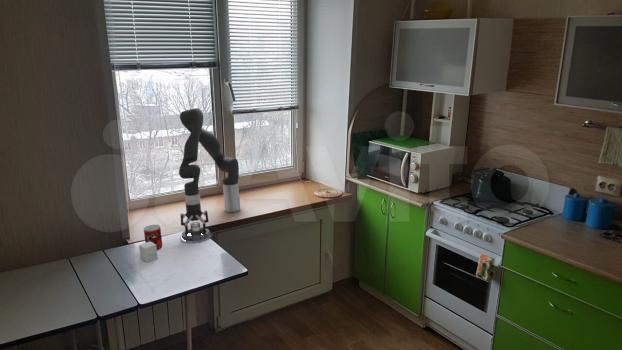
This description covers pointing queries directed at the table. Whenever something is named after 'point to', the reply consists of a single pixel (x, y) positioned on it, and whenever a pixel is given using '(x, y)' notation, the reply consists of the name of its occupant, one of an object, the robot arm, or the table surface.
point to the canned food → (153, 235)
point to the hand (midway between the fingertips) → (195, 231)
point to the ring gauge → (200, 238)
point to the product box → (148, 251)
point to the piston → (195, 229)
